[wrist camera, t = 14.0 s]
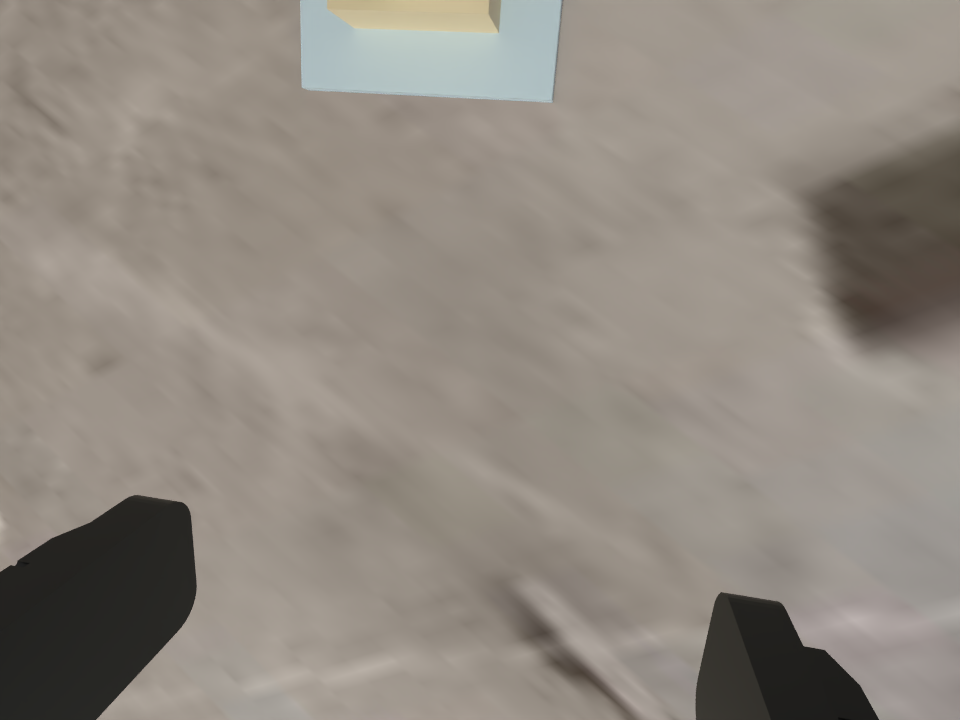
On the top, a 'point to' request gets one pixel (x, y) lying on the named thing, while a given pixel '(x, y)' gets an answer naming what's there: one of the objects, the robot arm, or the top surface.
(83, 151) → the top surface
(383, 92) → the build base
